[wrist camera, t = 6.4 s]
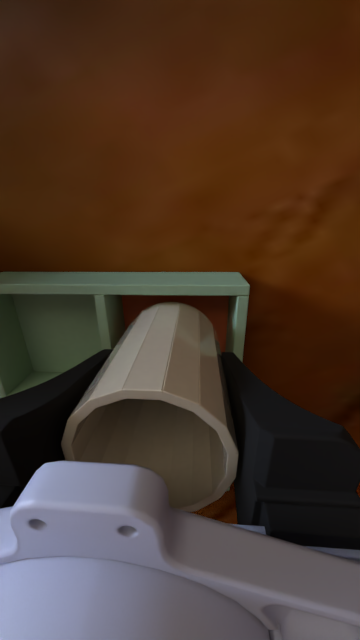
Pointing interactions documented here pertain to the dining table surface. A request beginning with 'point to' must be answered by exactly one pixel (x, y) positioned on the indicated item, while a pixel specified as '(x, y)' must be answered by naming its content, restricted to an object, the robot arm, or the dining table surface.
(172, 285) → the green divided tray
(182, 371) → the paper cup
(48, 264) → the dining table surface
